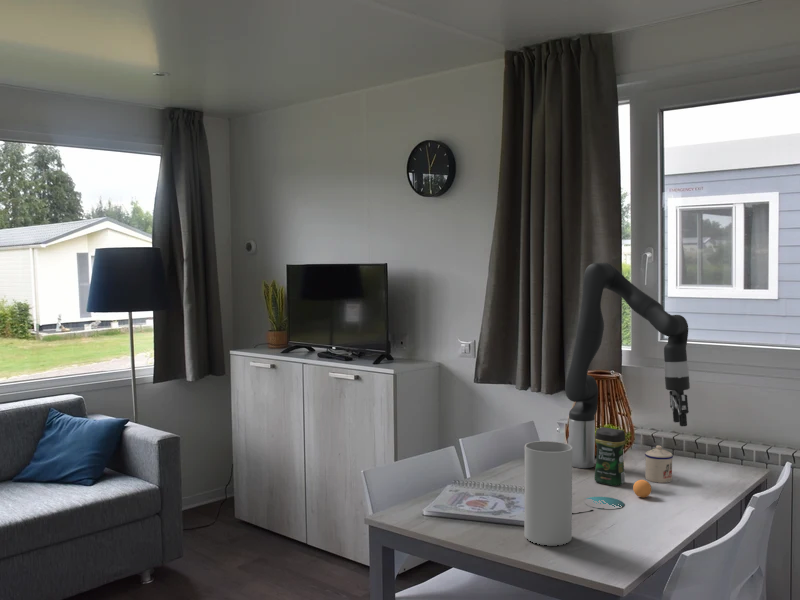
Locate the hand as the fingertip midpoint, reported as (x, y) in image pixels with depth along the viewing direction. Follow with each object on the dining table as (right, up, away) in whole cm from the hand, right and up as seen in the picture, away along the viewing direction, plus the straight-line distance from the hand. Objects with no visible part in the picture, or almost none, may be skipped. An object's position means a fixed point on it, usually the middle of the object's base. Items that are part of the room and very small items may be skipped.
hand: (680, 424), depth 244 cm
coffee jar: (-22, -21, +6) cm, 31 cm away
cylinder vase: (-53, -23, -45) cm, 73 cm away
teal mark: (-30, -22, -16) cm, 40 cm away
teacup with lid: (-3, -21, +11) cm, 24 cm away
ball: (-16, -19, -10) cm, 26 cm away
